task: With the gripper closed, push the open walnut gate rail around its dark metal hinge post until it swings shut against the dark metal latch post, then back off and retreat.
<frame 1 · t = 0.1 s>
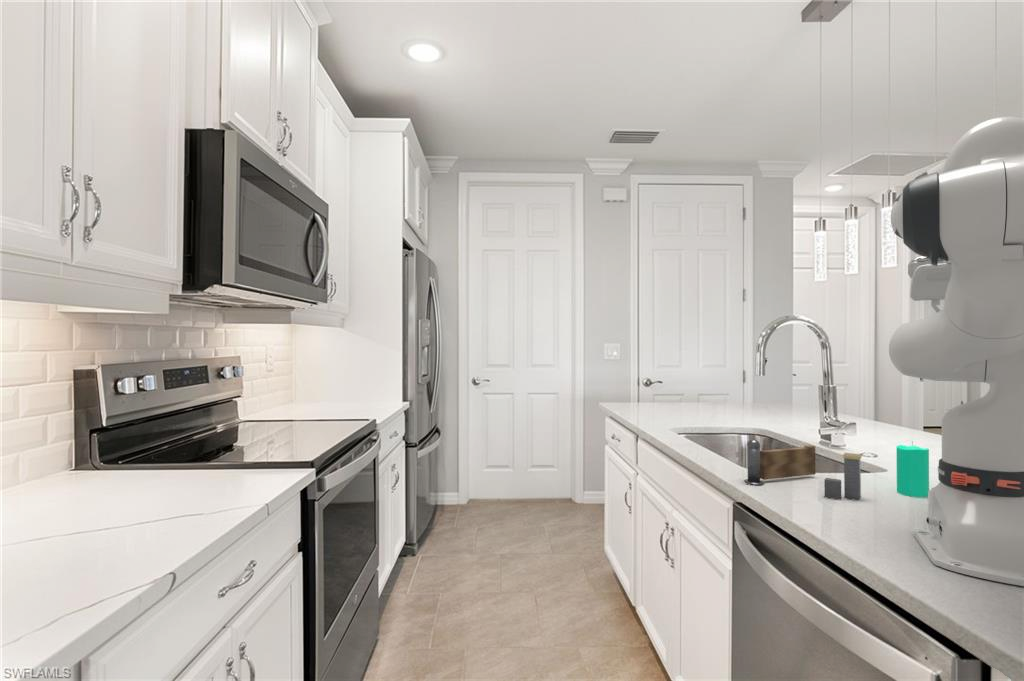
hand: (972, 321, 107), 39 cm above the countertop, tool pointing down, fingers open, 8 cm apart
latch post: (852, 497, 118), on the countertop
candle: (912, 494, 121), on the countertop
gate: (787, 462, 133), point 4 cm above the countertop, hinge at 55.0°
hinge post: (753, 483, 130), on the countertop
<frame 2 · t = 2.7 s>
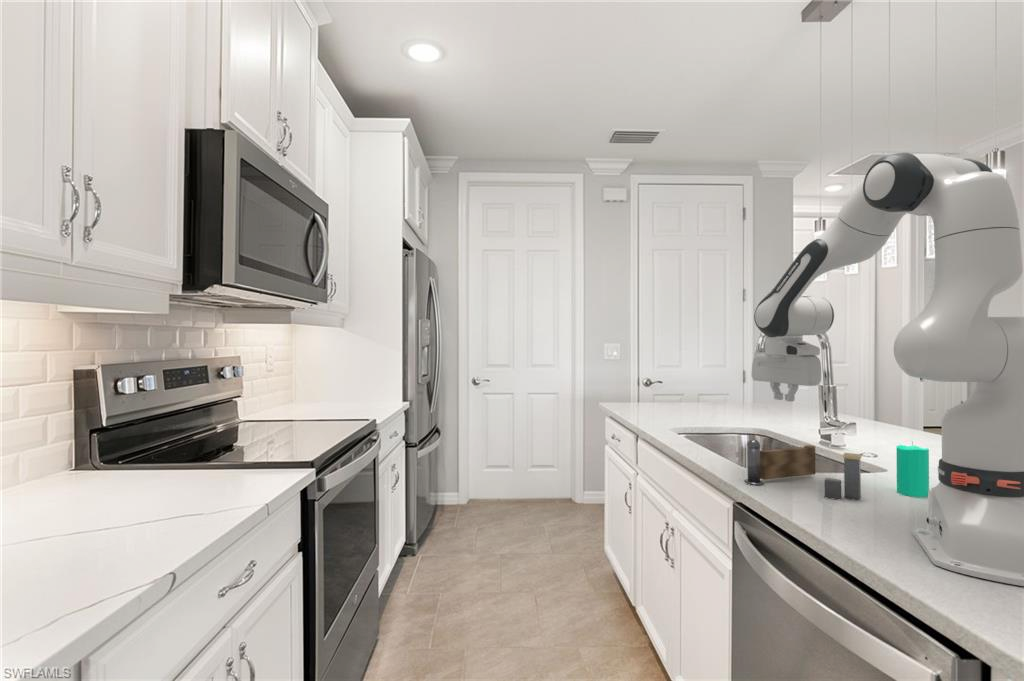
hand: (784, 400, 140), 19 cm above the countertop, tool pointing down, fingers closed
nothing on the countertop moved.
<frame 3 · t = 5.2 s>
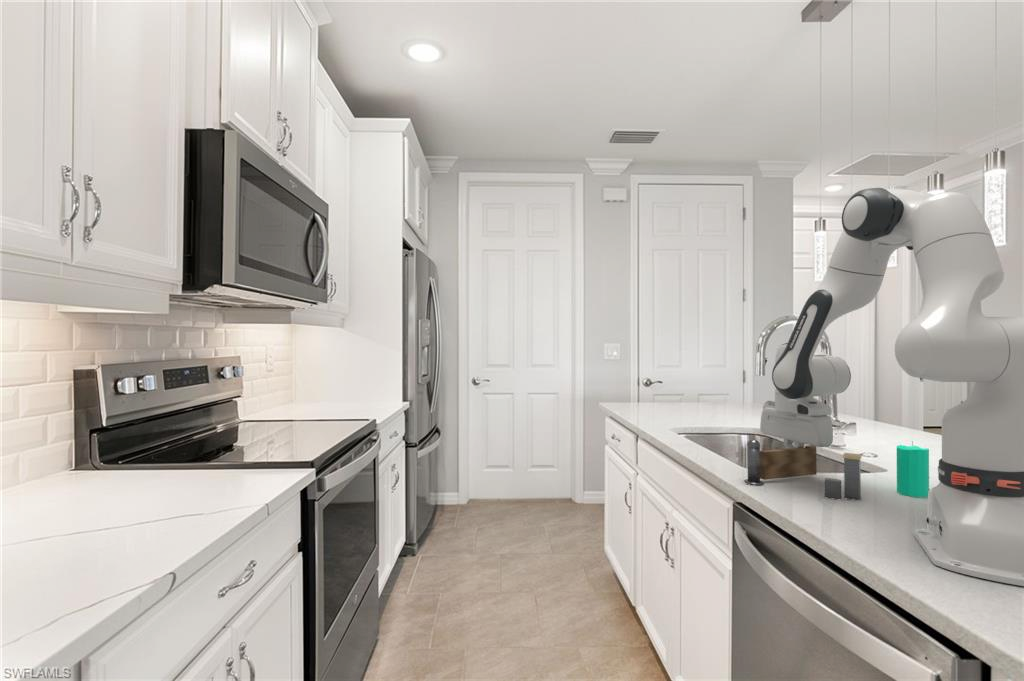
hand: (793, 457, 137), 5 cm above the countertop, tool pointing down, fingers closed
gate: (788, 462, 133), point 4 cm above the countertop, hinge at 54.0°, touching gripper
everything else where it was.
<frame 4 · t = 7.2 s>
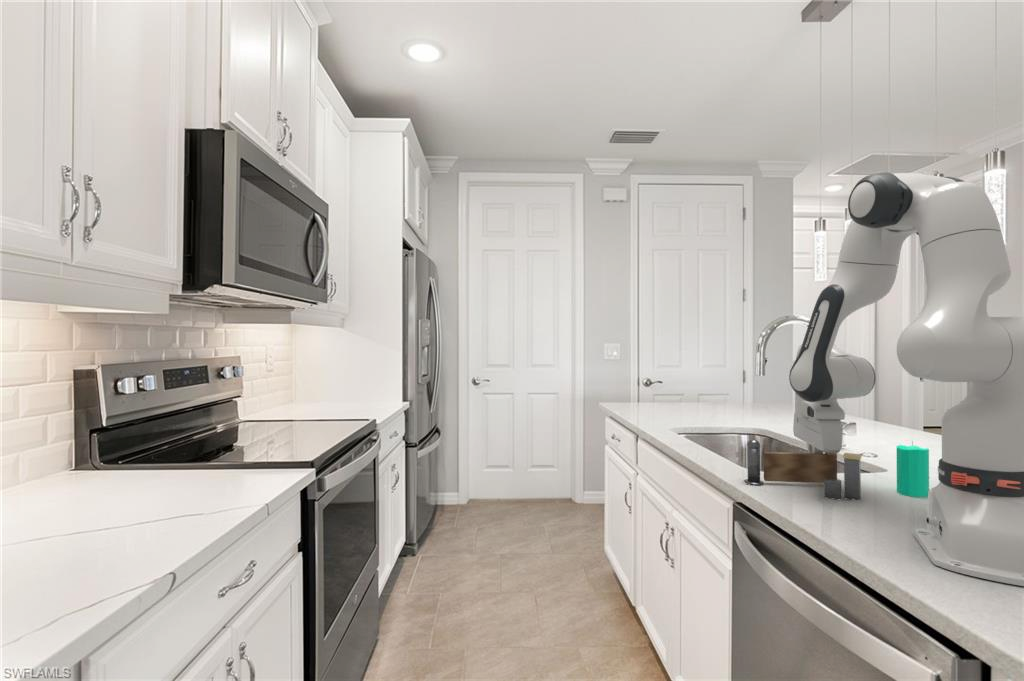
hand: (815, 463, 130), 5 cm above the countertop, tool pointing down, fingers closed
gate: (799, 466, 128), point 4 cm above the countertop, hinge at 28.0°, touching gripper
everything else where it was.
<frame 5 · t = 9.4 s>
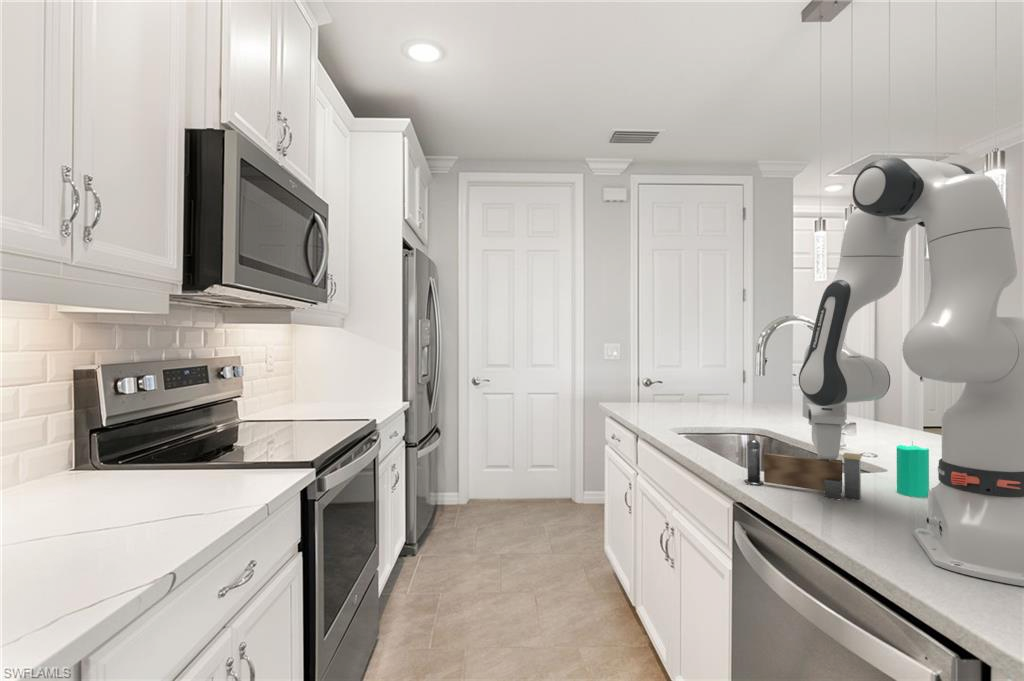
hand: (823, 469, 123), 5 cm above the countertop, tool pointing down, fingers closed
gate: (801, 471, 124), point 4 cm above the countertop, hinge at -0.3°, touching gripper
everything else where it was.
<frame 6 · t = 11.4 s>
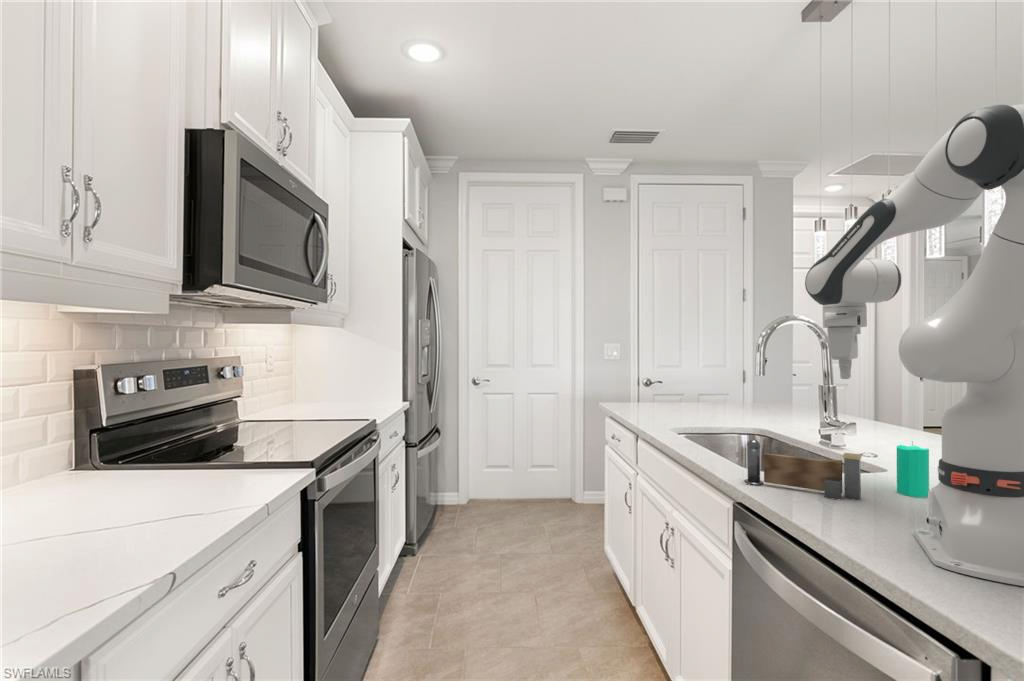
hand: (845, 378, 125), 26 cm above the countertop, tool pointing down, fingers closed
gate: (801, 471, 124), point 4 cm above the countertop, hinge at -0.5°
everything else where it was.
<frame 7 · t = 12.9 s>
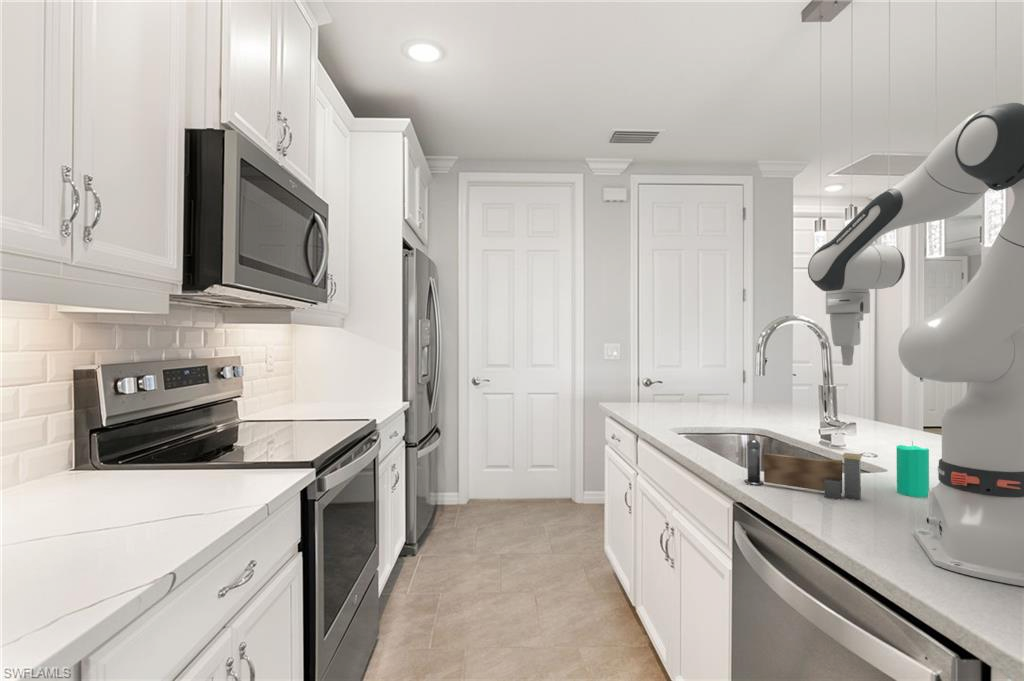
hand: (847, 365, 125), 29 cm above the countertop, tool pointing down, fingers closed
nothing on the countertop moved.
at the end: gate at +0° (first picture: +55°); gate touching nothing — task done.
